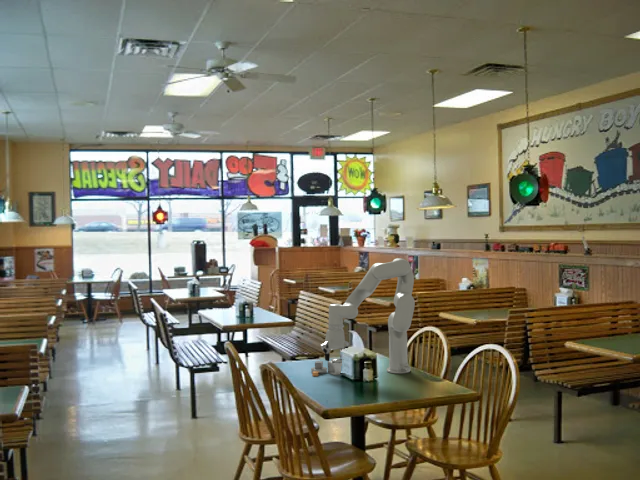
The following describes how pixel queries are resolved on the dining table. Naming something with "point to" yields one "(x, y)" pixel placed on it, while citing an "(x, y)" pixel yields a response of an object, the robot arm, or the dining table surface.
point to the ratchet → (318, 369)
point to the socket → (335, 366)
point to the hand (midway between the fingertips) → (335, 359)
